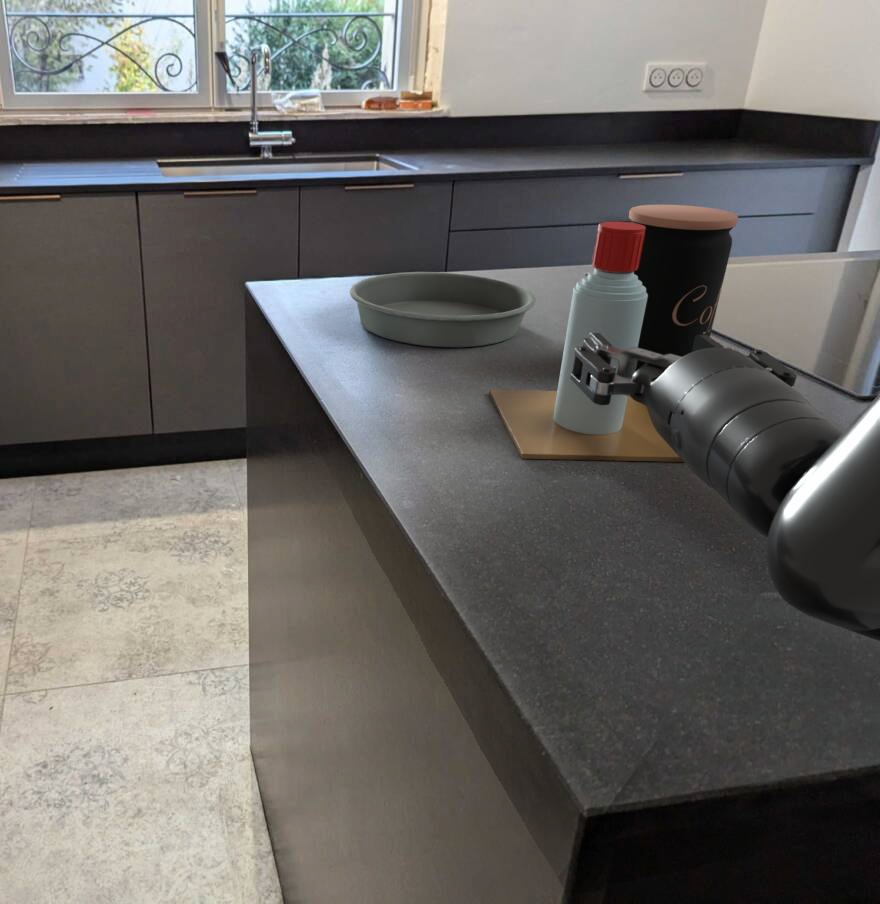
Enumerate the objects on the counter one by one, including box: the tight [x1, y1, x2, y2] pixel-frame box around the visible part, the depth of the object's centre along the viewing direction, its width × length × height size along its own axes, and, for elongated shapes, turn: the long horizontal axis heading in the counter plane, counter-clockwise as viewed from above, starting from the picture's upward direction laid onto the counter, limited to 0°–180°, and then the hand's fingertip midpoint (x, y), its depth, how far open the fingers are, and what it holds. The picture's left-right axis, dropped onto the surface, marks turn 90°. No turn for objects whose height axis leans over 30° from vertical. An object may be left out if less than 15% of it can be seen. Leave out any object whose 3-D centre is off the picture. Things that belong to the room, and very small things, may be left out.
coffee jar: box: [628, 204, 739, 372], centre depth 91 cm, size 11×11×18 cm
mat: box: [488, 389, 685, 463], centre depth 81 cm, size 16×16×1 cm
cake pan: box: [348, 271, 537, 348], centre depth 111 cm, size 25×25×4 cm
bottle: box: [553, 268, 648, 435], centre depth 77 cm, size 6×6×18 cm
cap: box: [591, 221, 646, 272], centre depth 74 cm, size 4×4×4 cm
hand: (643, 345), depth 67 cm, fingers open, 8 cm apart
